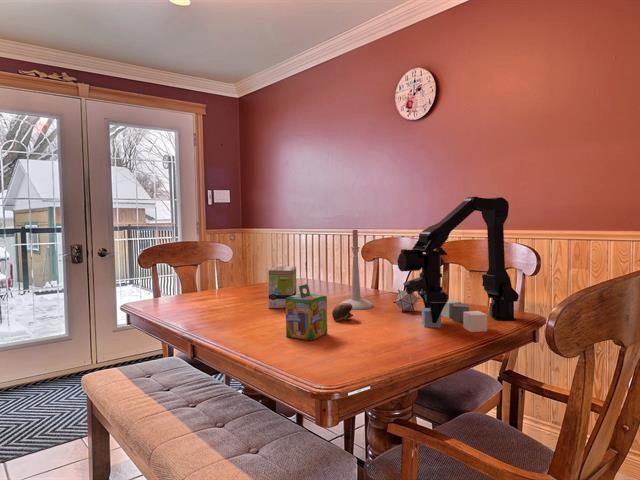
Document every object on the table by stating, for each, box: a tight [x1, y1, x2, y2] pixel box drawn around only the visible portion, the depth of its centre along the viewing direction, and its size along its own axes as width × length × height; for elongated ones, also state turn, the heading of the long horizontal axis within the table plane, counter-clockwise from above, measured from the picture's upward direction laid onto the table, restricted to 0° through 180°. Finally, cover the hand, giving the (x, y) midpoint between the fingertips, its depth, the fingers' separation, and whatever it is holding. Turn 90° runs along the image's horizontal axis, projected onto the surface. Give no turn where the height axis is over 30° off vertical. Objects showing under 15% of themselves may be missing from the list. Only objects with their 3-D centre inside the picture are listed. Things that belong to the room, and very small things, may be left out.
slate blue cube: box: [421, 307, 442, 328], centre depth 132 cm, size 5×5×5 cm
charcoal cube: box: [452, 302, 470, 323], centre depth 139 cm, size 5×5×5 cm
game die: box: [392, 289, 421, 313], centre depth 153 cm, size 9×8×10 cm
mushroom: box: [331, 302, 354, 321], centre depth 141 cm, size 8×8×6 cm
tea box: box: [268, 265, 297, 309], centre depth 169 cm, size 15×10×15 cm
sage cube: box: [441, 299, 462, 319], centre depth 145 cm, size 5×5×5 cm
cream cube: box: [462, 310, 488, 333], centre depth 127 cm, size 5×5×5 cm
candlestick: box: [339, 229, 374, 311], centre depth 162 cm, size 13×13×30 cm
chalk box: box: [285, 283, 328, 341], centre depth 123 cm, size 9×9×15 cm
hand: (431, 319), depth 132 cm, fingers open, 9 cm apart
